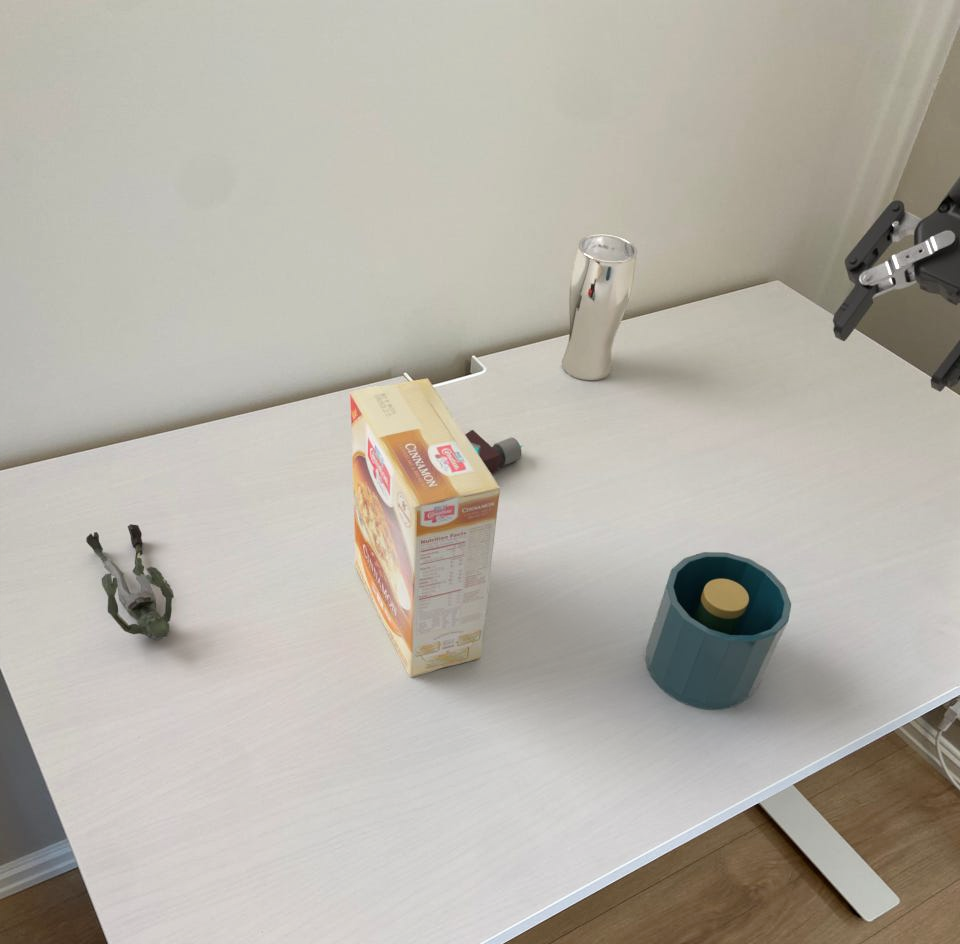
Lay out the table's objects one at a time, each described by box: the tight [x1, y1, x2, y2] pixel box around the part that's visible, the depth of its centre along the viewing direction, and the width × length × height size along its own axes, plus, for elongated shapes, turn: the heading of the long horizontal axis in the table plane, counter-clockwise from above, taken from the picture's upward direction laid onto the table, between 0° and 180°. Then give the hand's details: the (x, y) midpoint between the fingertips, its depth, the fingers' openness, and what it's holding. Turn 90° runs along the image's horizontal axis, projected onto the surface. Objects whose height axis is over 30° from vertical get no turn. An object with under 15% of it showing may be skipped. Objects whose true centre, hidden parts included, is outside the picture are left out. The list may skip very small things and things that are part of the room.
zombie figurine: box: [85, 523, 175, 641], centre depth 84 cm, size 5×7×15 cm
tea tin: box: [694, 579, 749, 635], centre depth 83 cm, size 4×4×8 cm
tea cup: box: [645, 551, 792, 710], centre depth 83 cm, size 10×10×9 cm
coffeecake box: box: [349, 377, 501, 678], centre depth 81 cm, size 15×7×20 cm, turn 23°
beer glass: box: [561, 233, 638, 381], centre depth 111 cm, size 7×7×15 cm
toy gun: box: [464, 429, 523, 474], centre depth 102 cm, size 10×12×5 cm
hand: (885, 360), depth 74 cm, fingers open, 8 cm apart
